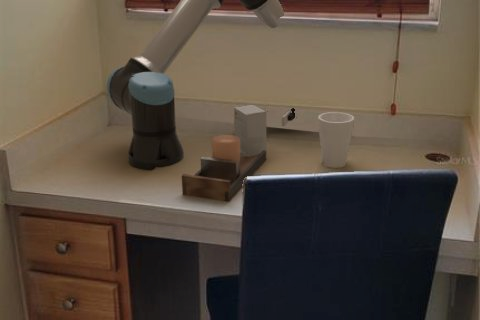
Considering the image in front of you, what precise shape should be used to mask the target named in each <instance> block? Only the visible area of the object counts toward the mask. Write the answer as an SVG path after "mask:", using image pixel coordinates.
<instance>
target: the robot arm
mask: <svg viewBox="0 0 480 320" xmlns="http://www.w3.org/2000/svg"><path fill="white" fill-rule="evenodd" d="M225 1H226V0H180V1H179V2H178V4H177V5H176V6H175V7H174V9H173V10H172V12H171V13H170V14H169V16H168V17H167V18H166V20H165V21H164V22H163V23H162V25H161V26H160V28H159V29H158V30H157V32H156V33H155V34H154V35H153V37H152V38H151V40H150V41H149V42H148V44H147V45H146V46H145V48H143V50H142V52H141V53H140V54H139V55H137V56H132V57H130V59H128V61H127V62H126V64H125V65H124V66H120V67H118V68H116V69H114V70H113V71H112V72H111V74H109V76H108V79H107V82H106V93H107V95H108V98H109V100H110V101H111V102H112V103H113V104H114V106H116V107H117V108H119V109H120V110H122V111H123V112H126V113H127V114H129V115H130V116H131V125H132V126H131V127H132V138H131V142H130V146H129V149H128V163H129V164H130V165H131V166H132V167H135V168H137V169H141V170H151V171H152V170H155V169H157V168H164V167H169V166H172V165H175V164H178V163H179V162H181V161H183V159H184V149H183V145H182V143H181V141H180V138H179V135H178V133H177V129H176V128H177V126H176V109H175V108H176V105H175V94H176V92H175V87H174V82H173V80H172V79H171V77H170V76H168V75H166V74H165V73H166V72H167V70H168V69H169V68H170V66H171V65H172V64H173V62H174V61H175V60H176V58H177V57H178V55H179V54H180V53H181V52H182V51H183V49H184V47H185V46H186V45H187V44H188V42H189V41H190V40H191V38H192V37H193V35H194V34H195V33H196V31H197V30H198V28H199V27H200V26H201V25H202V23H203V22H204V20H205V19H206V18H207V16H208V15H209V14H210V12H212V10H213V9H215V8H216V9H220V8H221V6H222V5H223V3H224V2H225ZM236 1H237V2H239V3H240V4H241V5H242V6H243V7H244V8H245V10H246V11H249V12H252V13H254V15H255V16H256V17H257V19H258V18H259V19H260V20H261V21H262V22H263V23H265V24H266V25H267V26H269V27H271V28H275V27H277V26H278V24H277V23H278V22H277V20H278V18H280V17H282V16H284V11H283V8H282V6H283V5H282V3H281V2H280V1H279V0H236ZM280 3H281V4H280ZM281 5H282V6H281ZM259 19H258V20H259ZM260 20H259V21H260ZM261 21H260V22H261ZM262 22H261V23H262ZM291 111H292V113H291ZM291 111H289V110H288V111H287V112H286V113H285V114H282V117H281V126H282V127H285V126H286V125H287V124H288V123H289V122H290V121H293V120H295V119H296V118H295V113H294V111H295V109H294V108H292V109H291ZM294 118H295V119H294Z"/></svg>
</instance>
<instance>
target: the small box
mask: <svg viewBox="0 0 480 320" xmlns="http://www.w3.org/2000/svg"><path fill="white" fill-rule="evenodd" d="M233 115H234V117H233V122H234V123H233V124H234V125H233V128H234V129H233V130H234V131H233V133H234V135H233V136H237V137H239V138H240V154H242V155H243V156H244V157H253V156H258V155H259V154H260V153H261V152H262V151H263V150H265V151H266V152H267V112H266V111H264V110H263V109H261V108H259V107H257V106H255V105H254V104H253V105H245V106H239V107H237V106H234V107H233Z"/></svg>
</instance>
